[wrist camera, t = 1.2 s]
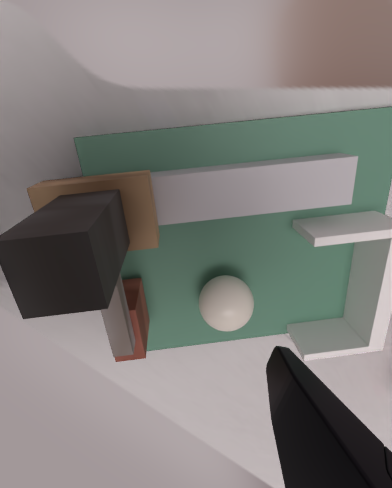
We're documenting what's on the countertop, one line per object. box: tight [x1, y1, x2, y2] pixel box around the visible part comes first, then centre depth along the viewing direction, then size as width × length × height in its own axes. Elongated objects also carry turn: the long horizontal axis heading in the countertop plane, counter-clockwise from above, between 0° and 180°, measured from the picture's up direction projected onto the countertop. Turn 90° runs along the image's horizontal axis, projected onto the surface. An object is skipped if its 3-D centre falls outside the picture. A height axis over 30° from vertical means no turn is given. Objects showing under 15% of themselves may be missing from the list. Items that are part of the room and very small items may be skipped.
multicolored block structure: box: [0, 170, 160, 362], centre depth 16 cm, size 6×12×10 cm, turn 5°
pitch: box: [74, 107, 392, 361], centre depth 20 cm, size 21×18×4 cm
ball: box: [199, 275, 254, 331], centre depth 21 cm, size 4×4×4 cm
